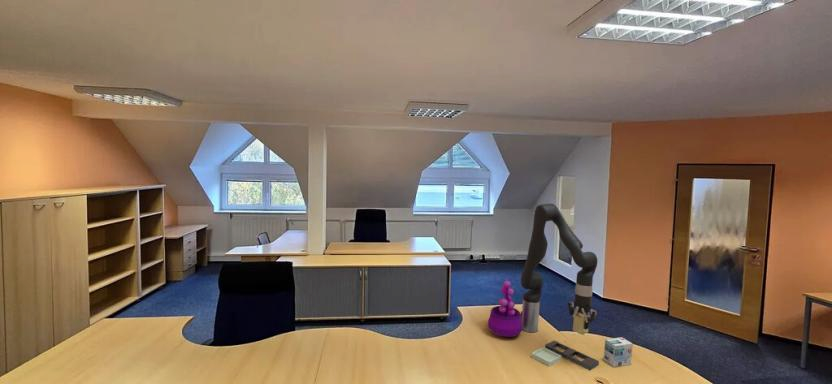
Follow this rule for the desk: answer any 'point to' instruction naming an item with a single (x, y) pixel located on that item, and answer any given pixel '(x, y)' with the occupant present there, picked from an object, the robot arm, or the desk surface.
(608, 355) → the light bulb box
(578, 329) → the tan rectangular block
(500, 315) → the decorative plant
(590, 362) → the rail
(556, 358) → the parts tray
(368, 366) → the desk surface
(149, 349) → the desk surface
